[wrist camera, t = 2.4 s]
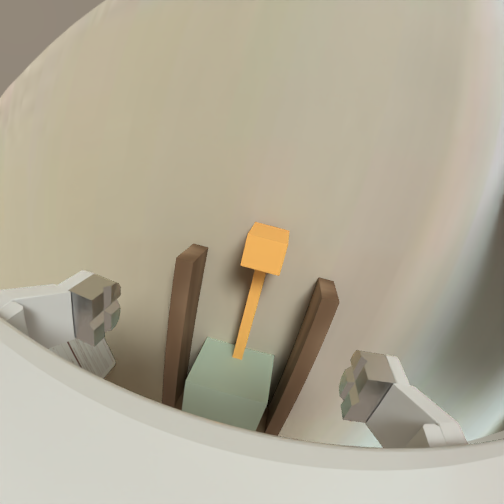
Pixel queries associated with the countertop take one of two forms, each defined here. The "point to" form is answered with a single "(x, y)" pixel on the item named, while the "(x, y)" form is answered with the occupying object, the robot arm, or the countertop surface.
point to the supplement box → (87, 356)
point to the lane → (182, 329)
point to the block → (238, 348)
